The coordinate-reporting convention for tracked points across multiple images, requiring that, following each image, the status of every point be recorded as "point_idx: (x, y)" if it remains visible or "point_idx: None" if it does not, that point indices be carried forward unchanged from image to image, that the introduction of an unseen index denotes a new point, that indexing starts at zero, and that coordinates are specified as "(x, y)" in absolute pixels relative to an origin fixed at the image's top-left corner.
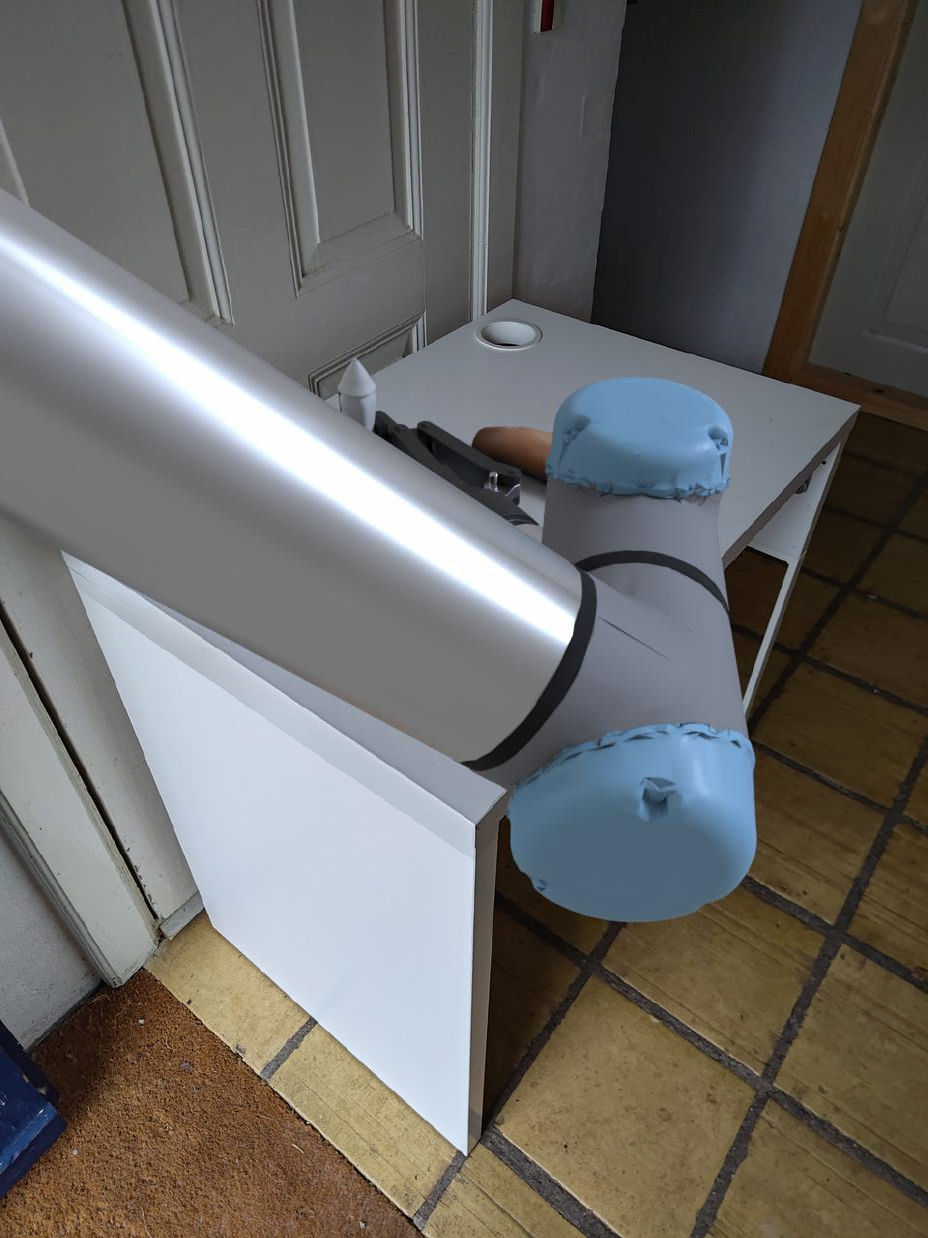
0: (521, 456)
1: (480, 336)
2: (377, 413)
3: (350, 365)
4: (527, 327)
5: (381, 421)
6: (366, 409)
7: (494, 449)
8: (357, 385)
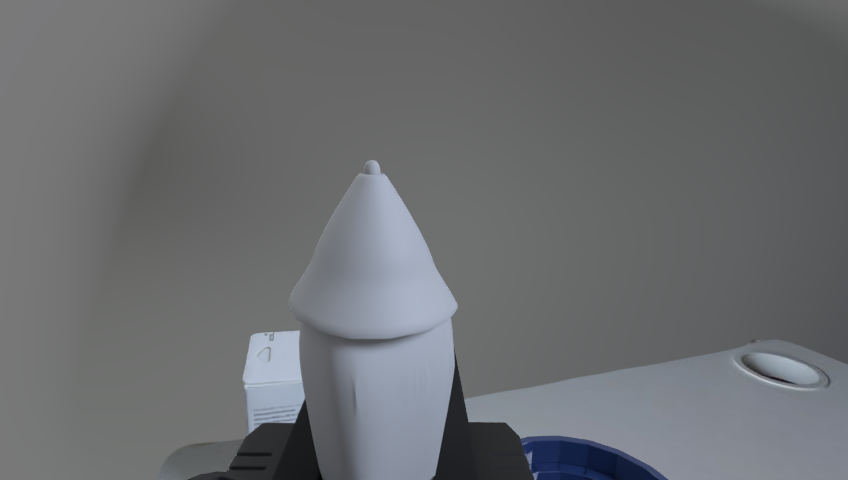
0: None
1: (740, 362)
2: (492, 431)
3: (348, 190)
4: (805, 366)
5: (466, 477)
6: (365, 407)
7: None
8: (340, 277)
